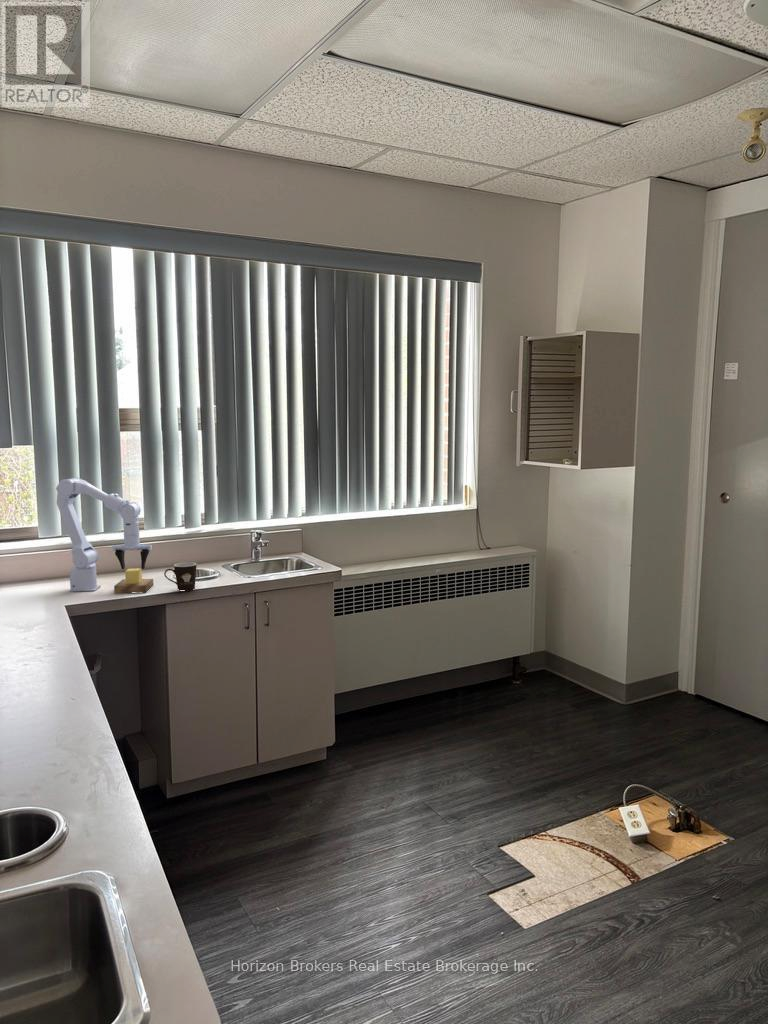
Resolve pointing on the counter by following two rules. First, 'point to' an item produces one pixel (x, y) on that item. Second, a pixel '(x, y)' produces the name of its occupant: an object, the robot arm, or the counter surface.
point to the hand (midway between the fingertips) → (133, 568)
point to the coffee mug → (184, 575)
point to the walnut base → (133, 586)
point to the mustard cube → (133, 576)
